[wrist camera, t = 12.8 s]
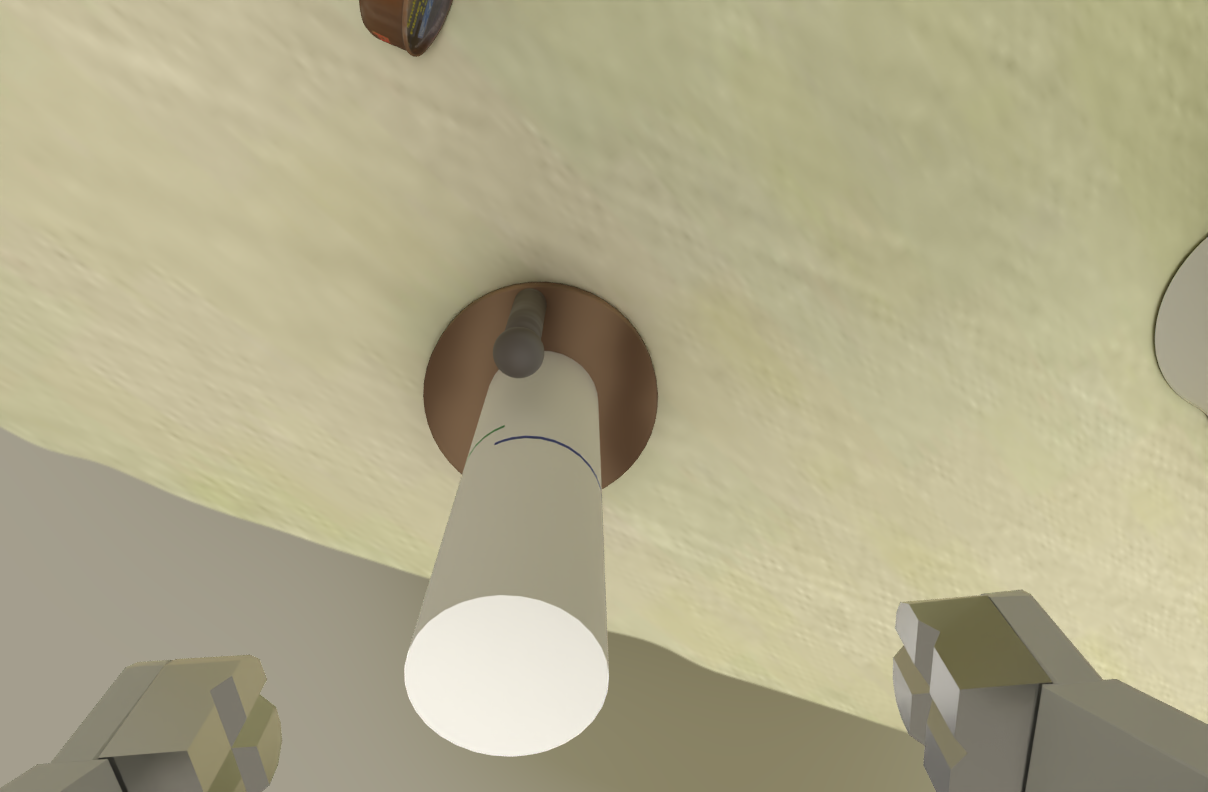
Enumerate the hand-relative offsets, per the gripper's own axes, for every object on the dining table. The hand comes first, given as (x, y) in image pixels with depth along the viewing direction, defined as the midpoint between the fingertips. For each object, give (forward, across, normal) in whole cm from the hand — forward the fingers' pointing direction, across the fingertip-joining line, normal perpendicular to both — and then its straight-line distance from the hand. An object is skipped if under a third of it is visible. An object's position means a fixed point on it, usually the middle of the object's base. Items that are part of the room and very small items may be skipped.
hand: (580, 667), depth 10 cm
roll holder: (+40, +4, +12) cm, 42 cm away
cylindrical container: (+39, +4, +12) cm, 41 cm away
